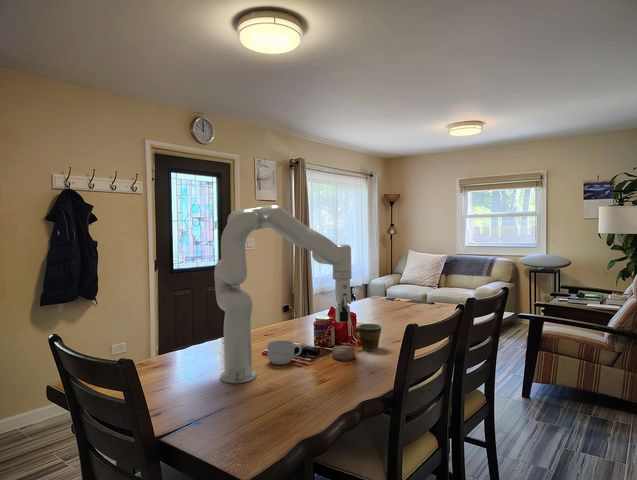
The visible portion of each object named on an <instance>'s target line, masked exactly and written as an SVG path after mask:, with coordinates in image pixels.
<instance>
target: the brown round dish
mask: <svg viewBox="0 0 637 480" xmlns="http://www.w3.org/2000/svg"><path fill="white" fill-rule="evenodd" d="M331 348H332V350H331V351H332V352H331V354H332V359H333V360H334V361H340V362H347V361H353V360H354V359H355V356H356V354H355V350H356V349H355V347H353V346H351V345H350V346H349V345H336V346H334V347H331Z"/></svg>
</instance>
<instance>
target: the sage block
mask: <svg viewBox="0 0 637 480" xmlns="http://www.w3.org/2000/svg"><path fill="white" fill-rule="evenodd" d="M334 306H335V321H336V323H341V322H340V312H341V309H340V305H338V304H335V305H334ZM342 307H343V306H342ZM347 323H351V306H350V305H348V322H347Z"/></svg>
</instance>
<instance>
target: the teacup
mask: <svg viewBox="0 0 637 480" xmlns="http://www.w3.org/2000/svg"><path fill="white" fill-rule="evenodd" d="M266 345H267V347H266V349H267V359H268V360H269V362H271V363H272V364H274V365H278V366H279V365H281V366H282V365H287V364H289V363H291V361H292V360H294V359H296V357H298V356H300V355H301V353H302V351H303V348H302V346H301V345H300V344H299V343H298V344H297V343H296V344H295V342H294V341H293V340H287V339H280V340H273V341H269V342H267V343H266ZM296 348H298V352H297V353H296V354H295V349H296Z"/></svg>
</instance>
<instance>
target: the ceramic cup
mask: <svg viewBox="0 0 637 480" xmlns="http://www.w3.org/2000/svg"><path fill="white" fill-rule="evenodd" d="M357 327H358V328H357ZM357 327H352V329H351V330H350V331H351V334H352V335H353V336H355V337H356V338H357V339H358V340H359V342H360V344H361V349H362V351H365V352H371V353H372V352H376V351H378V349H379V343H380V337H381V334H382V333H381V332H382V325H380V324H378V323H377V324H376V323H363V324H358V326H357ZM353 330H356V331H357V332H358V335H359V336H357V335H356V334H355V333H354V332H353Z"/></svg>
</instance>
